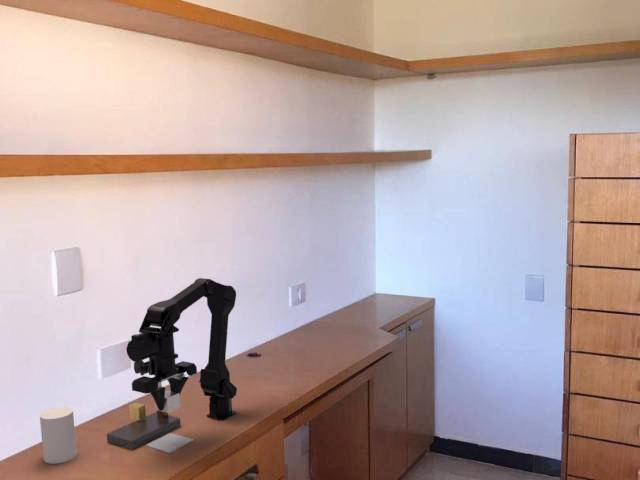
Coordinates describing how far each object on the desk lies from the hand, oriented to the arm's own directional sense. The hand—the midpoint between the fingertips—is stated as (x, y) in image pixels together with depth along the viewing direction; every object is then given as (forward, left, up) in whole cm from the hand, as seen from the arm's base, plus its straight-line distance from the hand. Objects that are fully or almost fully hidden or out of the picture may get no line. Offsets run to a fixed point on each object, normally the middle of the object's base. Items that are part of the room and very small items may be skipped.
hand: (167, 407), depth 179 cm
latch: (-3, -16, -8) cm, 18 cm away
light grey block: (0, 0, 0) cm, 0 cm away
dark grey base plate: (-1, -11, -10) cm, 15 cm away
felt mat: (0, 0, -10) cm, 10 cm away
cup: (+20, -20, -11) cm, 30 cm away
